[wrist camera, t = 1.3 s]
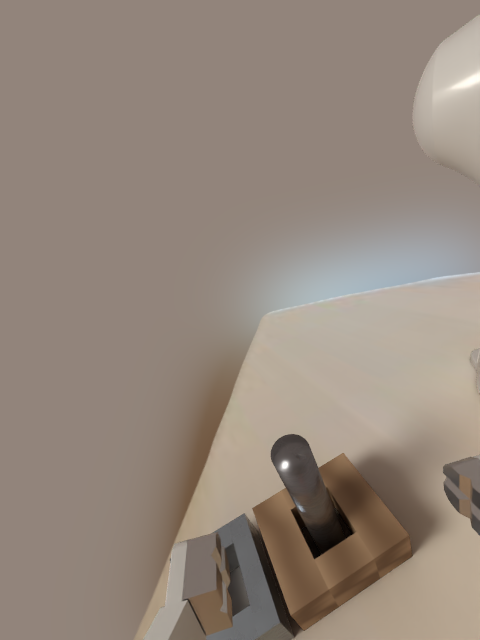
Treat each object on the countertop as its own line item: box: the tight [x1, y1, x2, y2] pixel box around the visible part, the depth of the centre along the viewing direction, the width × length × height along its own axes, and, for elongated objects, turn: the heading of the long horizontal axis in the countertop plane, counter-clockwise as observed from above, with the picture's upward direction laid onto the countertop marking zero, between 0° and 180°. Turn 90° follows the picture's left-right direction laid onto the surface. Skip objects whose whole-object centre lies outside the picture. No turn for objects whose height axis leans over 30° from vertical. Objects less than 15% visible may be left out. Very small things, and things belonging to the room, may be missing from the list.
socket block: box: [170, 513, 294, 640], centre depth 27 cm, size 9×9×4 cm
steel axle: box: [271, 434, 346, 554], centre depth 25 cm, size 3×3×16 cm
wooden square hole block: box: [252, 453, 412, 630], centre depth 28 cm, size 12×9×4 cm
